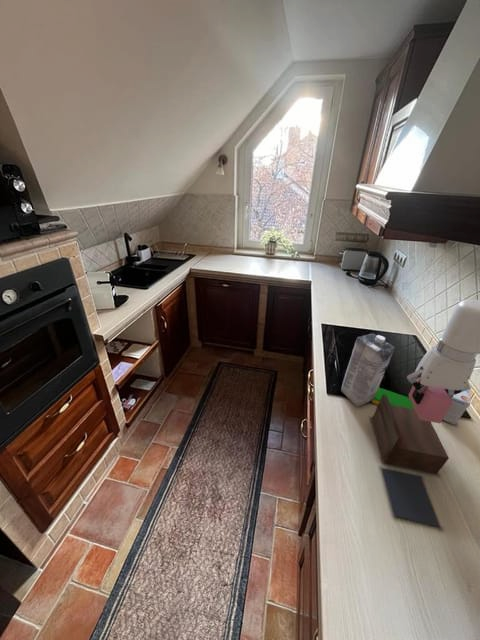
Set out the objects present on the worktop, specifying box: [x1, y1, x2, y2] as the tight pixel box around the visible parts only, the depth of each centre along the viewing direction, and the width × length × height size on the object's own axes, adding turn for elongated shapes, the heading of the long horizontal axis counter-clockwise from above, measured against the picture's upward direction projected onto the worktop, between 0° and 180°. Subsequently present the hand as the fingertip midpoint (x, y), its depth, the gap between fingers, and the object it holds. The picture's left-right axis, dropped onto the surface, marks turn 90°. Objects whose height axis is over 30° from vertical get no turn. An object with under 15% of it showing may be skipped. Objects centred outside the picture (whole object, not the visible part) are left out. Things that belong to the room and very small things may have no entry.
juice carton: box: [340, 332, 396, 407], centre depth 90 cm, size 9×10×27 cm
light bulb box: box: [442, 389, 472, 425], centre depth 89 cm, size 11×7×11 cm, turn 144°
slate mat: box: [382, 468, 440, 528], centre depth 67 cm, size 10×12×1 cm
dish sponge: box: [370, 386, 414, 409], centre depth 94 cm, size 7×14×2 cm, turn 60°
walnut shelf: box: [371, 394, 450, 475], centre depth 77 cm, size 14×16×12 cm
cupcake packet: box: [407, 378, 453, 424], centre depth 70 cm, size 5×9×8 cm, turn 168°
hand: (427, 401), depth 70 cm, fingers closed on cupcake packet, 5 cm apart
